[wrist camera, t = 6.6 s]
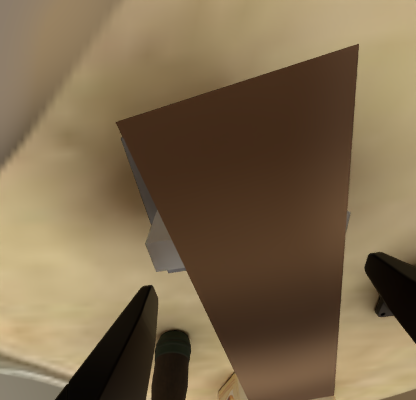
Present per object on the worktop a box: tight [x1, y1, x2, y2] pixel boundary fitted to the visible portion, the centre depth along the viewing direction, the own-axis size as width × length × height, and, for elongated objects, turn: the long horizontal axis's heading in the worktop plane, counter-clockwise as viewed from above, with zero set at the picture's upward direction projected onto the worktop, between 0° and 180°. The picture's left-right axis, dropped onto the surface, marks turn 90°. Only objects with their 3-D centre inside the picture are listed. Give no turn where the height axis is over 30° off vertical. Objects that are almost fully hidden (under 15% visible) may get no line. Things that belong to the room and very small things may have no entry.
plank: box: [116, 44, 359, 400], centre depth 8 cm, size 14×4×4 cm, turn 16°
